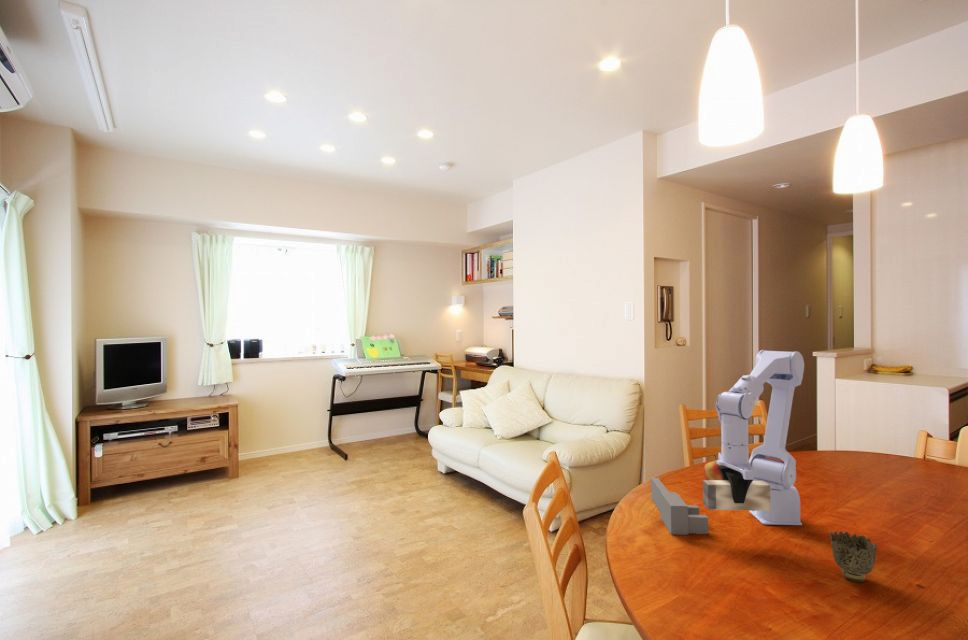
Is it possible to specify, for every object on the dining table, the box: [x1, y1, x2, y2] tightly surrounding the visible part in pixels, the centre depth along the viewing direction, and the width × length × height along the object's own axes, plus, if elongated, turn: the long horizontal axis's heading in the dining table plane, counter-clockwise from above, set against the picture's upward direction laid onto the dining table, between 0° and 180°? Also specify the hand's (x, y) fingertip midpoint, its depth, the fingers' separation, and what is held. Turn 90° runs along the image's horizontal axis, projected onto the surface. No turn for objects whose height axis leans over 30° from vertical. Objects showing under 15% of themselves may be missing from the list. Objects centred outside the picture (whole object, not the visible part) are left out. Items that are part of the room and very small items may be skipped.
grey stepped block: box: [650, 477, 709, 536], centre depth 126 cm, size 9×23×7 cm, turn 175°
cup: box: [829, 530, 878, 583], centre depth 95 cm, size 8×7×8 cm
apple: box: [702, 454, 723, 480], centre depth 146 cm, size 8×8×10 cm
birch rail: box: [702, 479, 771, 511], centre depth 112 cm, size 14×3×6 cm, turn 85°
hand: (735, 499), depth 113 cm, fingers closed on birch rail, 3 cm apart
